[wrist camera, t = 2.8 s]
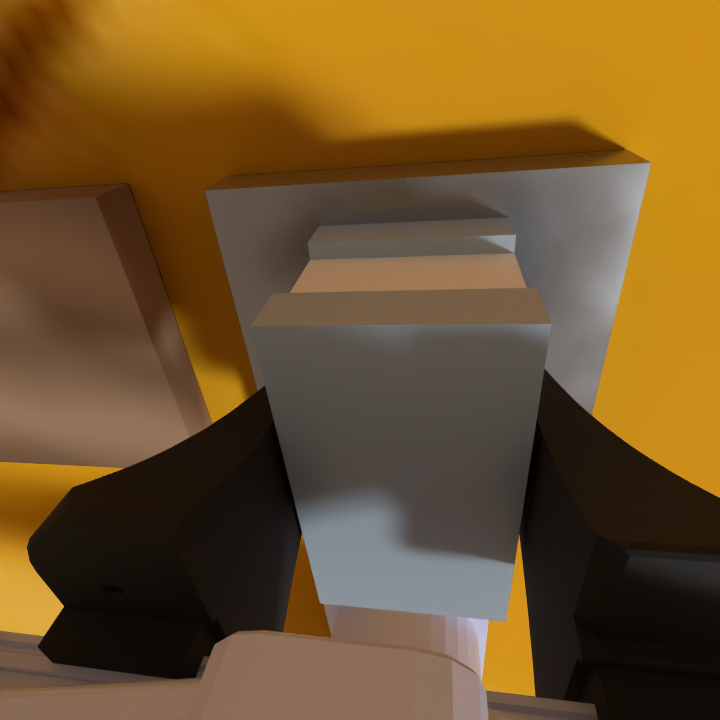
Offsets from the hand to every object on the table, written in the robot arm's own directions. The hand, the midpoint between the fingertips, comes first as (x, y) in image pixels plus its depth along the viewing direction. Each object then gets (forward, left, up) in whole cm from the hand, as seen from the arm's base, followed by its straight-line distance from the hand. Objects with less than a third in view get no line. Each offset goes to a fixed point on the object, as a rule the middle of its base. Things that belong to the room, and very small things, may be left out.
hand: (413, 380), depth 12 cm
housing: (0, 0, -1) cm, 1 cm away
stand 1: (0, +13, -2) cm, 13 cm away
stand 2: (0, 0, -2) cm, 2 cm away
